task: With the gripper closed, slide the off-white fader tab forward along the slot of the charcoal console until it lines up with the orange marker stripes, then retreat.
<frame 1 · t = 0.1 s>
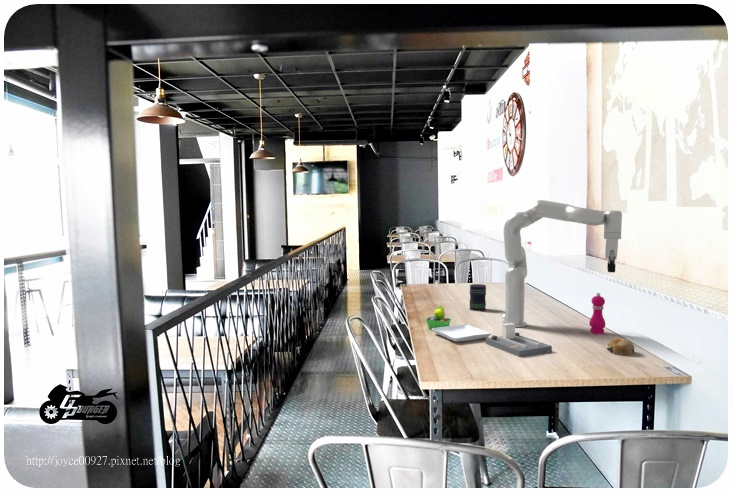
hand: (611, 271, 234), 31 cm above the table, tool pointing down, fingers open, 9 cm apart
fruit basket: (438, 328, 248), on the table
console: (517, 347, 214), on the table
storage jar: (477, 309, 296), on the table
bread roll: (620, 353, 206), on the table
salad plate: (460, 337, 232), on the table
fader: (508, 331, 219), point 6 cm above the table, slide at -6.0 cm
pepper mill: (597, 333, 239), on the table
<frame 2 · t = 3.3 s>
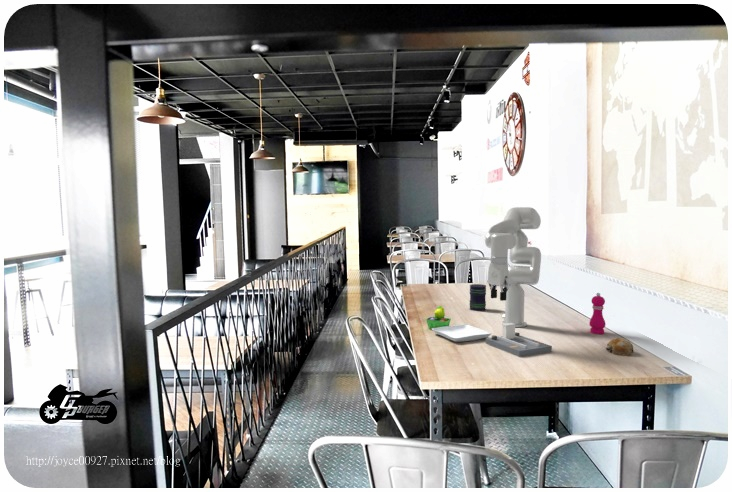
hand: (498, 298, 225), 20 cm above the table, tool pointing down, fingers open, 5 cm apart
nothing on the table moved.
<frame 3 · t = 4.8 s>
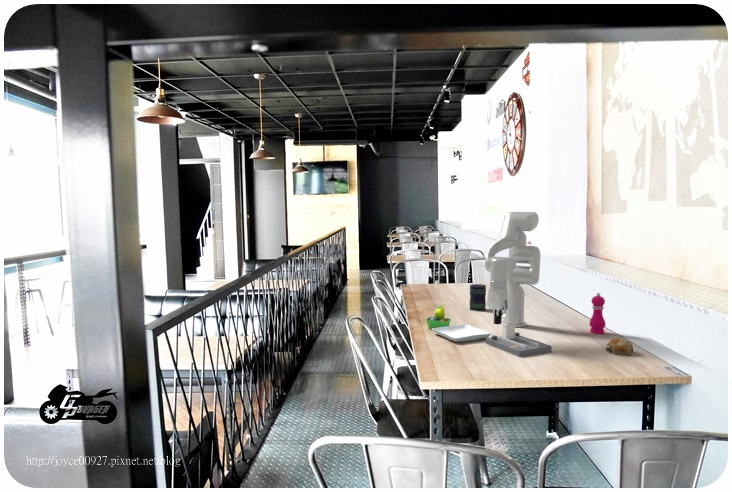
hand: (497, 323, 225), 8 cm above the table, tool pointing down, fingers closed
nothing on the table moved.
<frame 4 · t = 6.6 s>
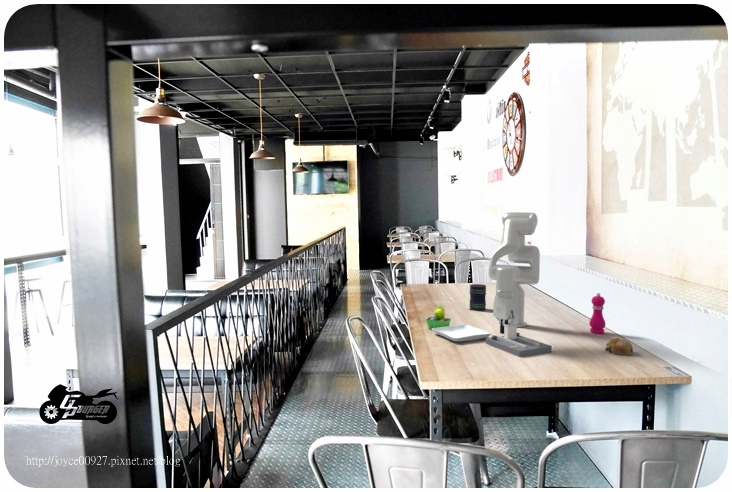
hand: (503, 333, 222), 4 cm above the table, tool pointing down, fingers closed
fader: (510, 331, 218), point 6 cm above the table, slide at -4.9 cm, touching gripper
everything else where it was.
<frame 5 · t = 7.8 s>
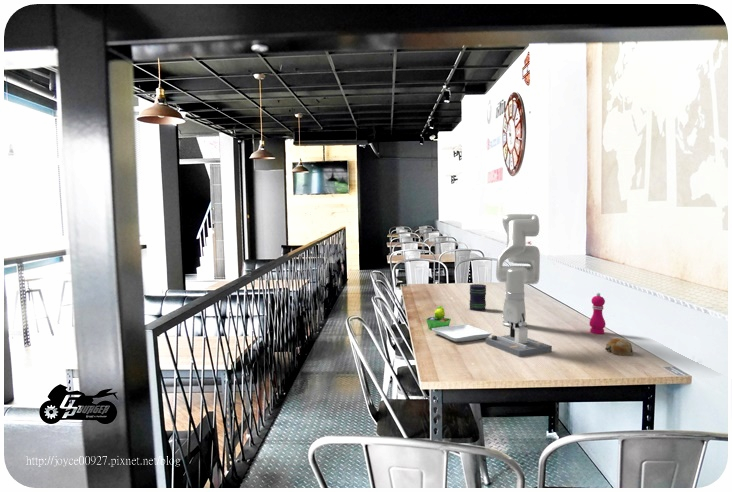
hand: (514, 336, 215), 4 cm above the table, tool pointing down, fingers closed
fader: (521, 335, 211), point 6 cm above the table, slide at 2.0 cm, touching gripper
everything else where it was.
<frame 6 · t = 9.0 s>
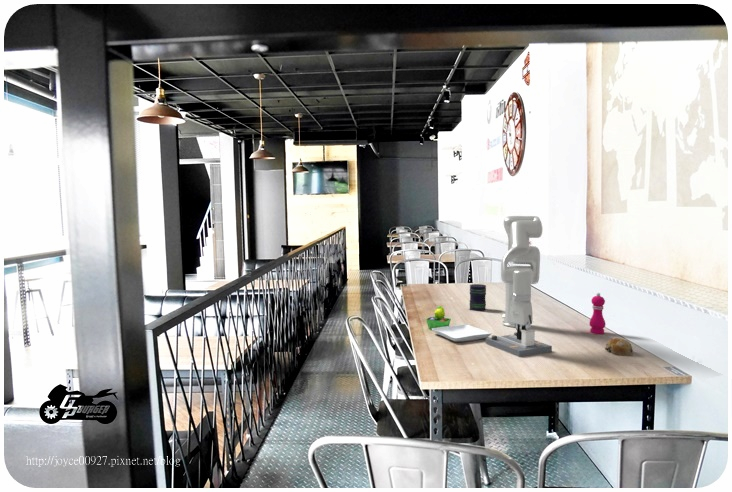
hand: (520, 339, 212), 4 cm above the table, tool pointing down, fingers closed
fader: (528, 337, 207), point 6 cm above the table, slide at 6.3 cm, touching gripper
everything else where it was.
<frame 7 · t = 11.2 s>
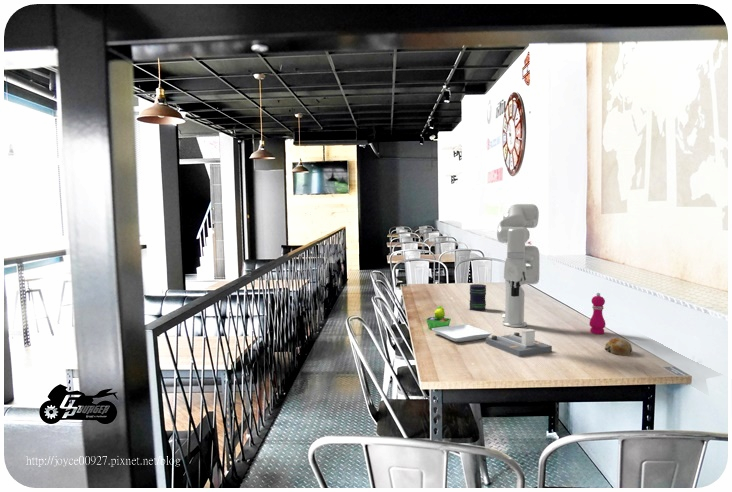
hand: (515, 296, 217), 22 cm above the table, tool pointing down, fingers closed
fader: (528, 337, 207), point 6 cm above the table, slide at 6.4 cm
everything else where it was.
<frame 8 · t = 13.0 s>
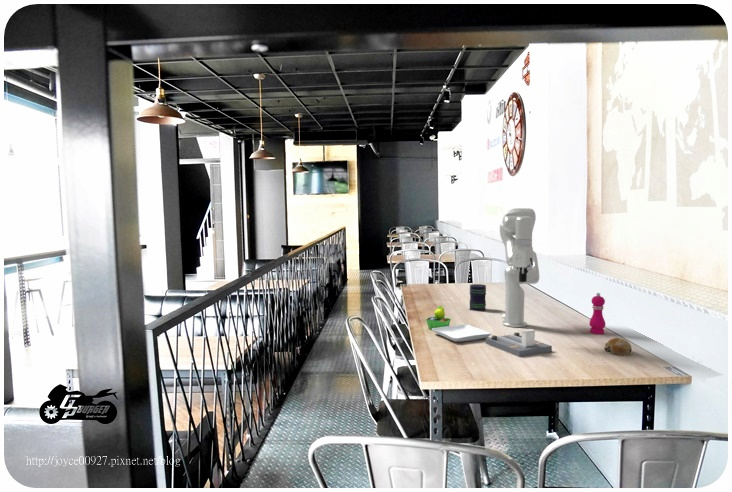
hand: (522, 281, 228), 27 cm above the table, tool pointing down, fingers closed
at the end: fader slide at 6.4 cm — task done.
